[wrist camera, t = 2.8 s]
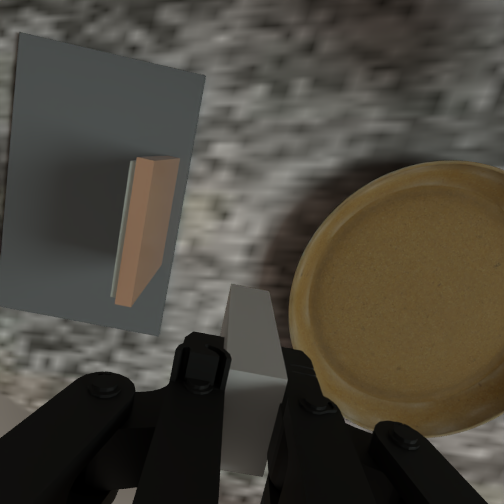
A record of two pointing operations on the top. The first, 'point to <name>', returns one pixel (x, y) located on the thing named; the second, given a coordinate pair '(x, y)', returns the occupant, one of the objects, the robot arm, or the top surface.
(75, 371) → the top surface
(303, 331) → the plant saucer
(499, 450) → the top surface
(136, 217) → the tile
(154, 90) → the mat
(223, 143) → the top surface
